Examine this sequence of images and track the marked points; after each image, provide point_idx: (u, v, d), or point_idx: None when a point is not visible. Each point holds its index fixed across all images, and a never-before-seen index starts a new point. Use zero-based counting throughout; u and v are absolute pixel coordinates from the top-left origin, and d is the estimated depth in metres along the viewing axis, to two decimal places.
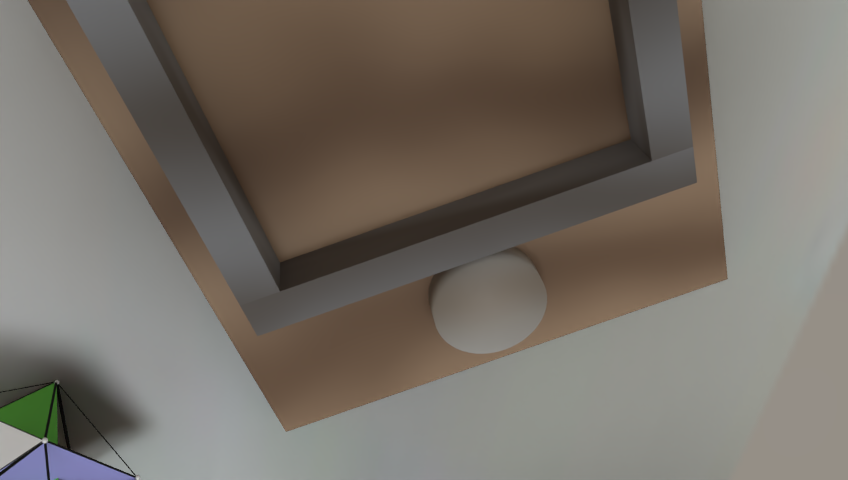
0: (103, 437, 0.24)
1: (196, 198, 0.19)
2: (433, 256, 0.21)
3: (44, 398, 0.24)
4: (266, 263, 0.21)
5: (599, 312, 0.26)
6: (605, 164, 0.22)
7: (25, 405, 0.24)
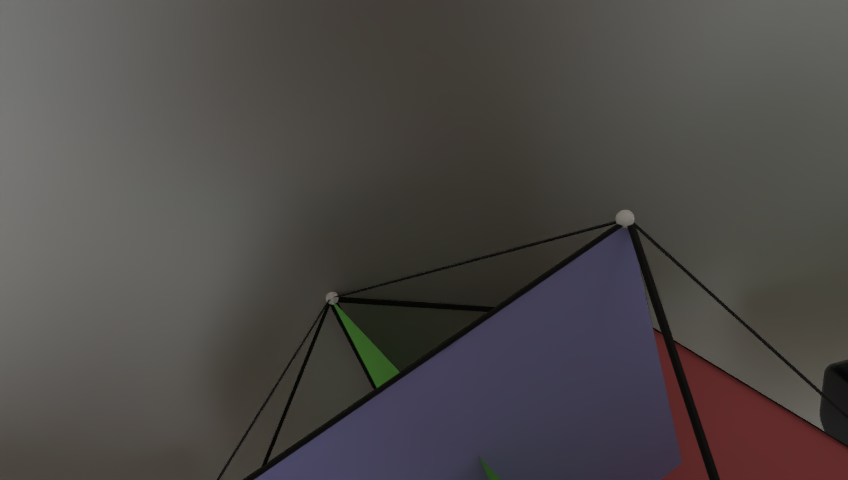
0: (474, 260, 0.08)
1: None
2: None
3: (357, 340, 0.09)
4: None
5: None
6: None
7: (375, 376, 0.10)
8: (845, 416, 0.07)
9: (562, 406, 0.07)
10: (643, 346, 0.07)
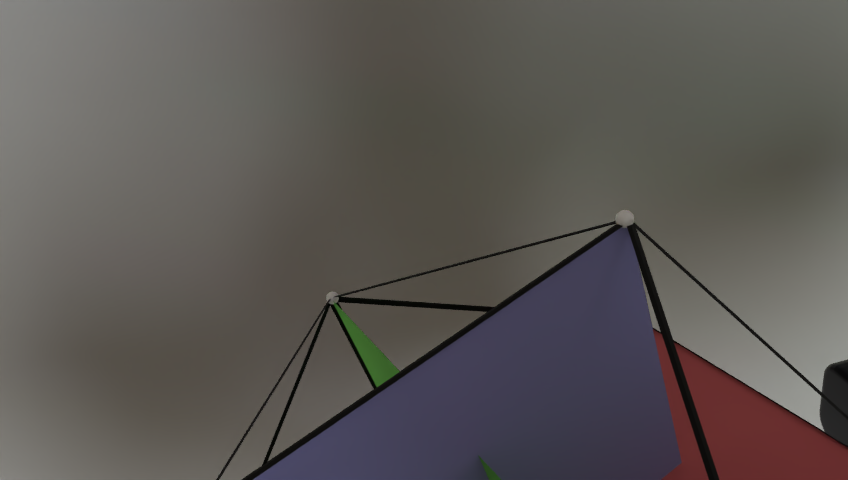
0: (474, 260, 0.08)
1: None
2: None
3: (357, 340, 0.09)
4: None
5: None
6: None
7: (375, 376, 0.10)
8: (844, 416, 0.07)
9: (563, 406, 0.07)
10: (642, 346, 0.07)
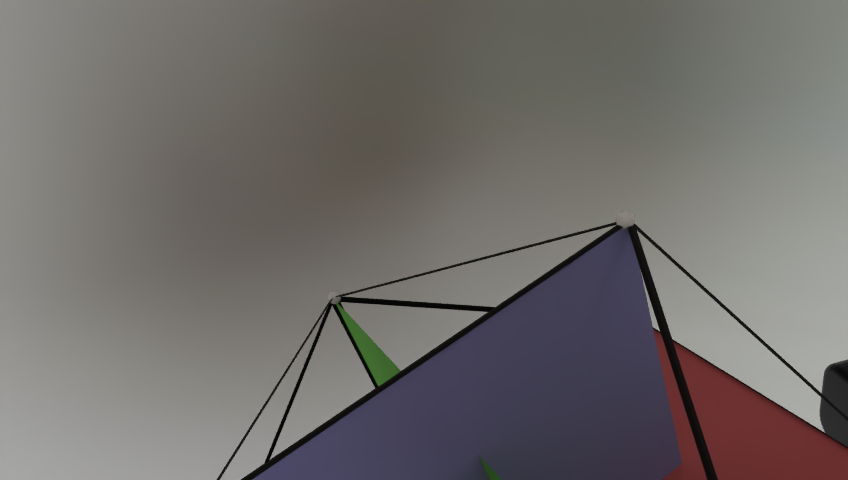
0: (475, 260, 0.08)
1: None
2: None
3: (359, 340, 0.09)
4: None
5: None
6: None
7: (376, 374, 0.10)
8: (844, 417, 0.07)
9: (563, 406, 0.07)
10: (642, 346, 0.07)
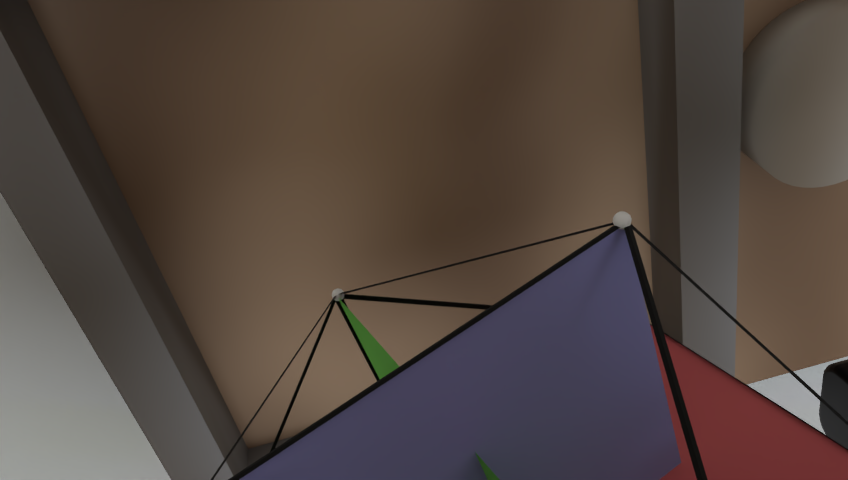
0: (475, 259, 0.08)
1: None
2: (709, 204, 0.14)
3: (362, 336, 0.09)
4: None
5: None
6: None
7: (379, 372, 0.10)
8: (841, 419, 0.07)
9: (559, 404, 0.07)
10: (641, 347, 0.07)
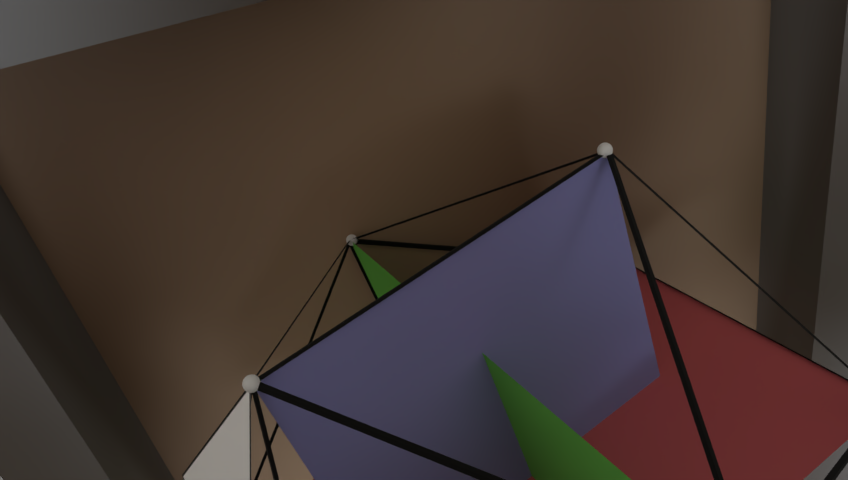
0: (477, 195, 0.09)
1: None
2: None
3: (374, 277, 0.10)
4: None
5: None
6: None
7: None
8: (793, 319, 0.08)
9: (554, 314, 0.08)
10: (623, 265, 0.08)
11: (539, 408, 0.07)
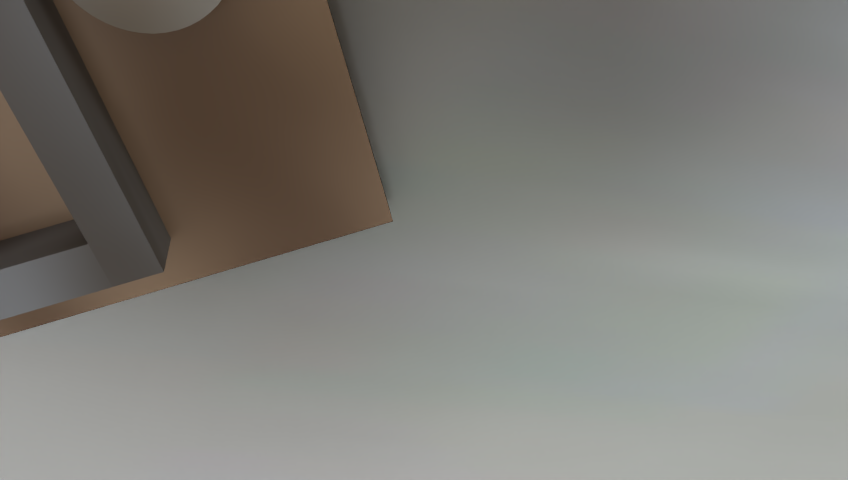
0: None
1: None
2: (10, 44, 0.14)
3: None
4: (47, 253, 0.17)
5: None
6: None
7: None
8: None
9: None
10: None
11: None
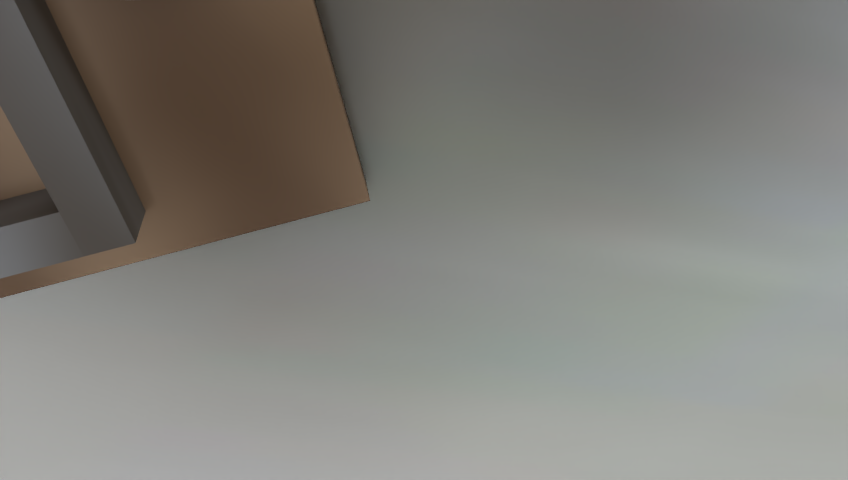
0: None
1: None
2: None
3: None
4: (17, 220, 0.16)
5: None
6: None
7: None
8: None
9: None
10: None
11: None
